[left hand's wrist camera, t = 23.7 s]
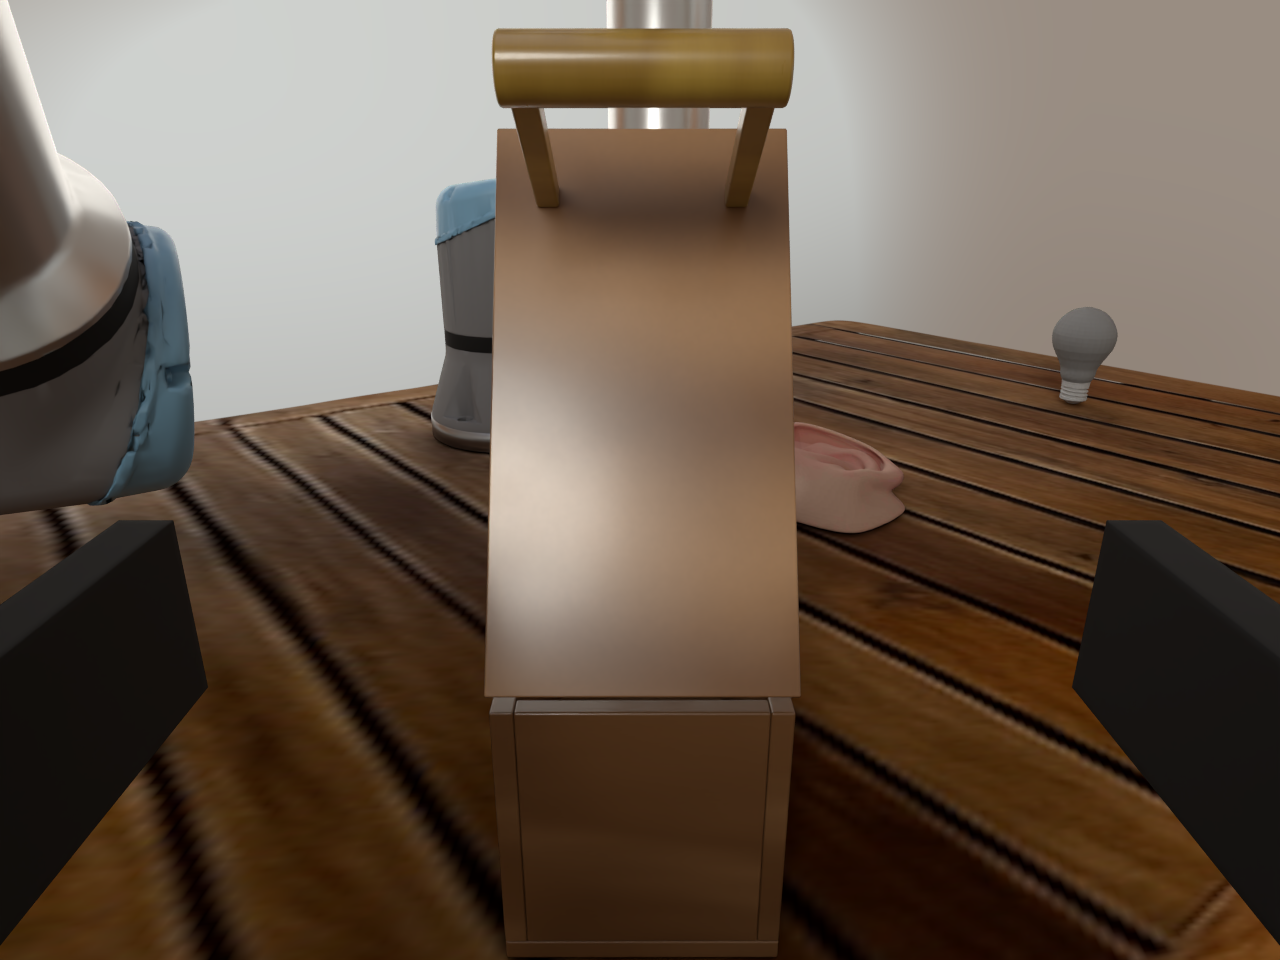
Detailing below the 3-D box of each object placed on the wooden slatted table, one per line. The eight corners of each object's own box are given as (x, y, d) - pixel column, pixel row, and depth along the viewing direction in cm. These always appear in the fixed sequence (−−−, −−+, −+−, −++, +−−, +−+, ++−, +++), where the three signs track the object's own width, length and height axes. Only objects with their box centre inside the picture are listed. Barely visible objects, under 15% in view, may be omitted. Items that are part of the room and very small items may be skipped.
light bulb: (1051, 409, 90) (1068, 312, 86) (1034, 394, 95) (1049, 302, 92) (1112, 411, 89) (1132, 313, 85) (1091, 395, 95) (1109, 303, 91)
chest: (553, 675, 45) (545, 499, 41) (729, 675, 45) (736, 499, 41) (506, 958, 29) (488, 713, 26) (777, 958, 29) (796, 713, 26)
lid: (502, 147, 28) (444, -47, 20) (781, 146, 28) (841, -47, 20) (490, 693, 26) (417, 739, 17) (794, 693, 26) (868, 739, 17)
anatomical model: (899, 487, 58) (733, 464, 62) (892, 542, 59) (731, 515, 64) (922, 432, 69) (781, 416, 74) (916, 479, 71) (778, 460, 75)
